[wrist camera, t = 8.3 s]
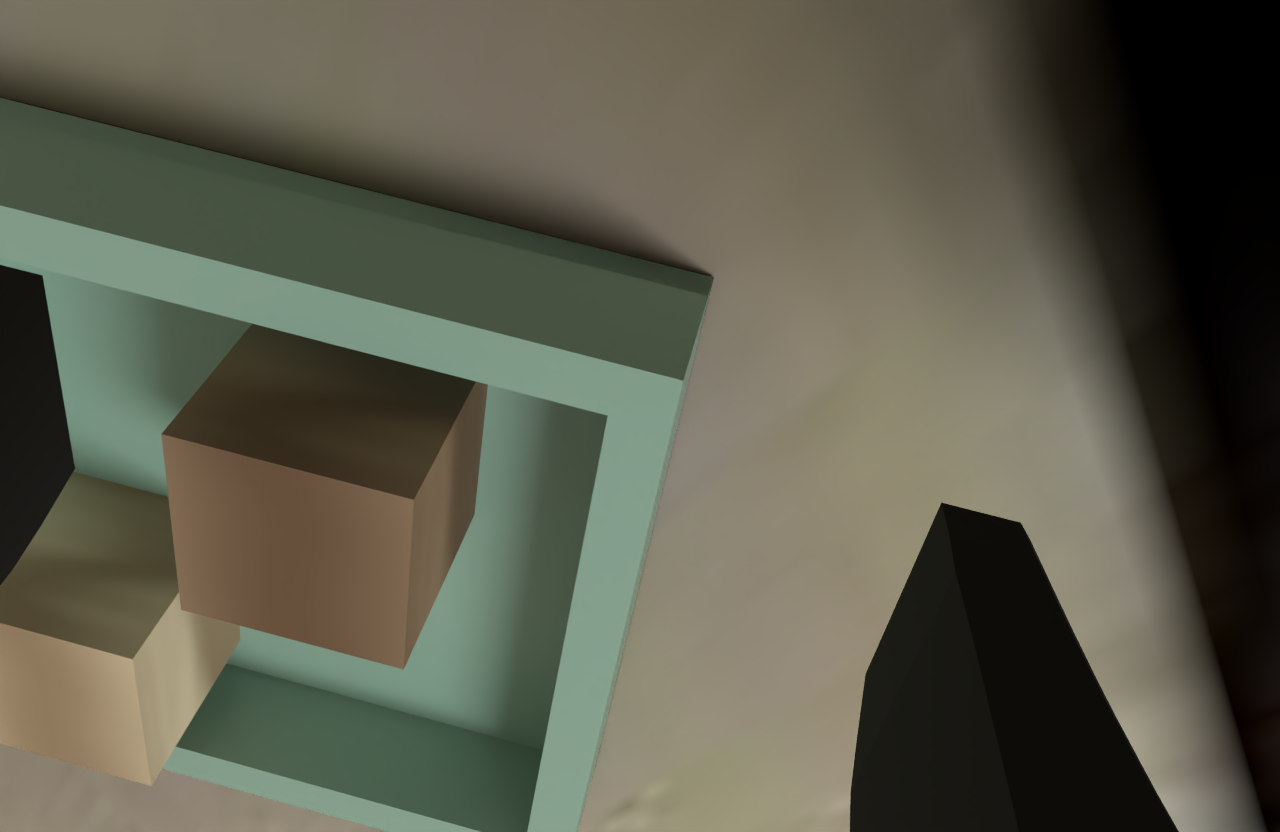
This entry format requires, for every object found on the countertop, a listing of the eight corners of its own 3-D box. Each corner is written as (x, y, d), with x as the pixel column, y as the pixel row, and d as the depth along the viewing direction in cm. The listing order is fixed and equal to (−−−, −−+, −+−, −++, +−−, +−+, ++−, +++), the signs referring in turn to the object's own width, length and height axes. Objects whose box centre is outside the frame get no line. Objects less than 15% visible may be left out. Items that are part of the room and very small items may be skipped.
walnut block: (491, 351, 21) (413, 500, 18) (474, 515, 24) (403, 669, 21) (274, 296, 22) (161, 433, 19) (279, 464, 24) (180, 609, 21)
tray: (713, 277, 20) (682, 381, 18) (594, 768, 29) (564, 881, 27) (-75, 78, 21) (-202, 153, 19) (40, 616, 30) (-37, 712, 27)
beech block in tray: (232, 514, 25) (133, 659, 22) (240, 639, 28) (151, 786, 25) (50, 465, 26) (-74, 602, 22) (74, 594, 28) (-35, 733, 25)
